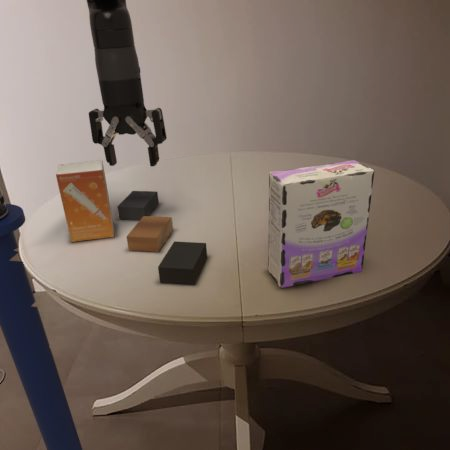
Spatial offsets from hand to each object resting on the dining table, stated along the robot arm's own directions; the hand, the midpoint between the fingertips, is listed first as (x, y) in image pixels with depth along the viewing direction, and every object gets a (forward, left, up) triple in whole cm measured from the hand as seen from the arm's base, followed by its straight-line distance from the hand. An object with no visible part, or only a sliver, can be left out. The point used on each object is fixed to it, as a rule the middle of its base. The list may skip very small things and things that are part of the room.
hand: (133, 165), depth 93 cm
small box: (-6, -11, -10) cm, 16 cm away
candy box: (+37, -21, -10) cm, 44 cm away
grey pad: (0, 0, -10) cm, 10 cm away
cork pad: (+7, -13, -10) cm, 17 cm away
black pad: (+16, -23, -10) cm, 29 cm away
